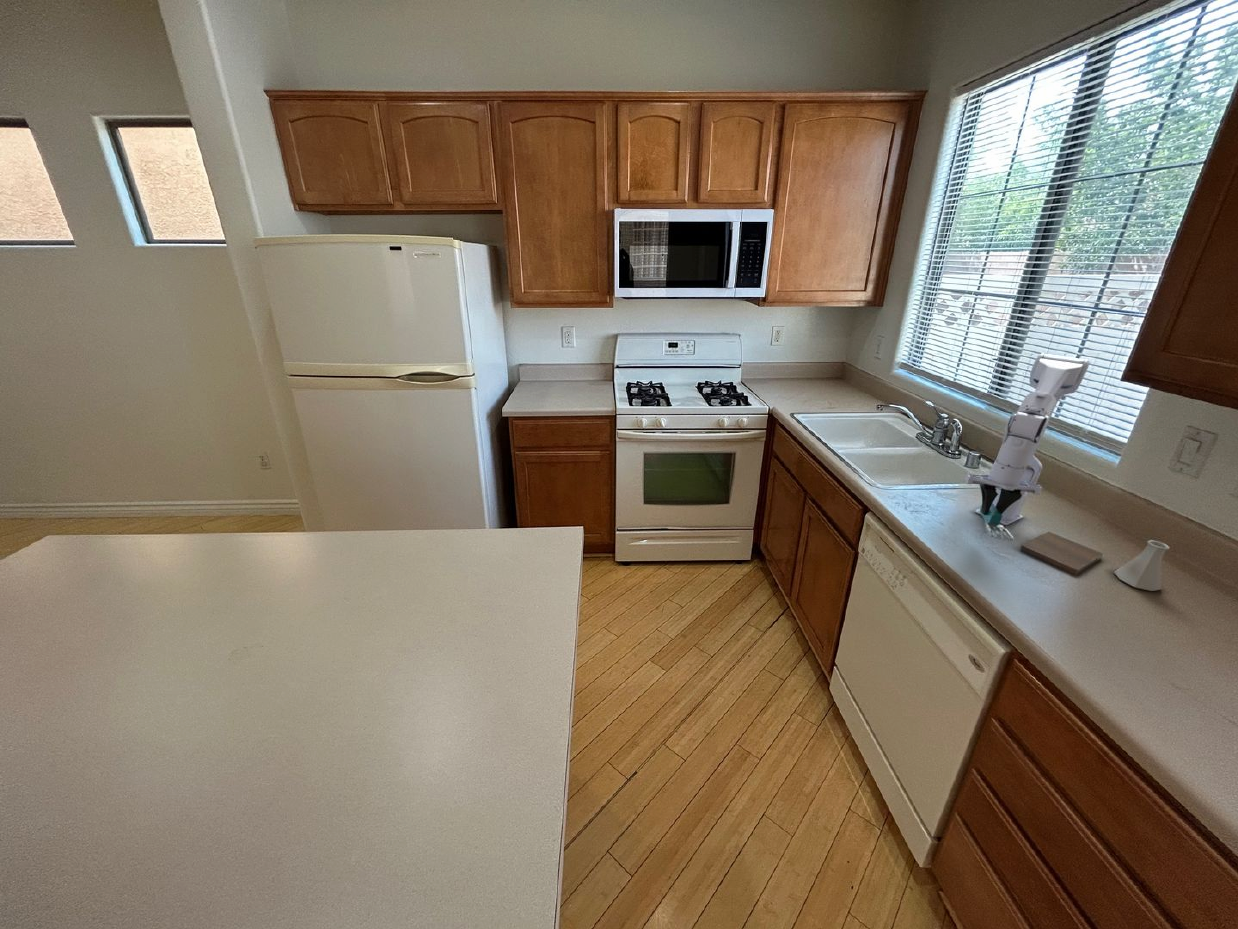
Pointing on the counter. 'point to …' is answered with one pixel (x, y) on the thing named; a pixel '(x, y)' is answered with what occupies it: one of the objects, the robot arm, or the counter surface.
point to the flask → (1144, 567)
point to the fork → (995, 524)
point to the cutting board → (1061, 552)
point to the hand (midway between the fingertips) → (990, 514)
